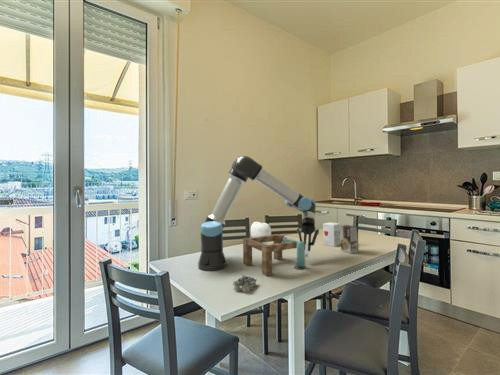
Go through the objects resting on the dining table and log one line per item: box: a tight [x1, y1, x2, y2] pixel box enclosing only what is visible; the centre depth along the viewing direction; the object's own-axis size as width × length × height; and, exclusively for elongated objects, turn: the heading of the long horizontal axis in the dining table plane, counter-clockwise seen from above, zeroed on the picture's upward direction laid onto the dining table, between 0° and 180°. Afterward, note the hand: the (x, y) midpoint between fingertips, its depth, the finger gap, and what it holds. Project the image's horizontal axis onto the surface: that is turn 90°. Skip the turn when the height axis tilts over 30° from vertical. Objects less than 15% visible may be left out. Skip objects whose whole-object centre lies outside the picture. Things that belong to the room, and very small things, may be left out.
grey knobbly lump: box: [232, 274, 258, 293], centre depth 118 cm, size 11×8×4 cm
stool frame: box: [242, 233, 307, 277], centre depth 147 cm, size 25×25×14 cm
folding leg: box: [282, 236, 306, 267], centre depth 149 cm, size 16×4×13 cm, turn 32°
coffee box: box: [340, 224, 359, 254], centre depth 174 cm, size 9×6×16 cm
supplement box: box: [322, 222, 342, 247], centre depth 194 cm, size 9×9×15 cm
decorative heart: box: [250, 221, 272, 245], centre depth 191 cm, size 18×11×17 cm, turn 38°
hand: (306, 255), depth 150 cm, fingers closed
